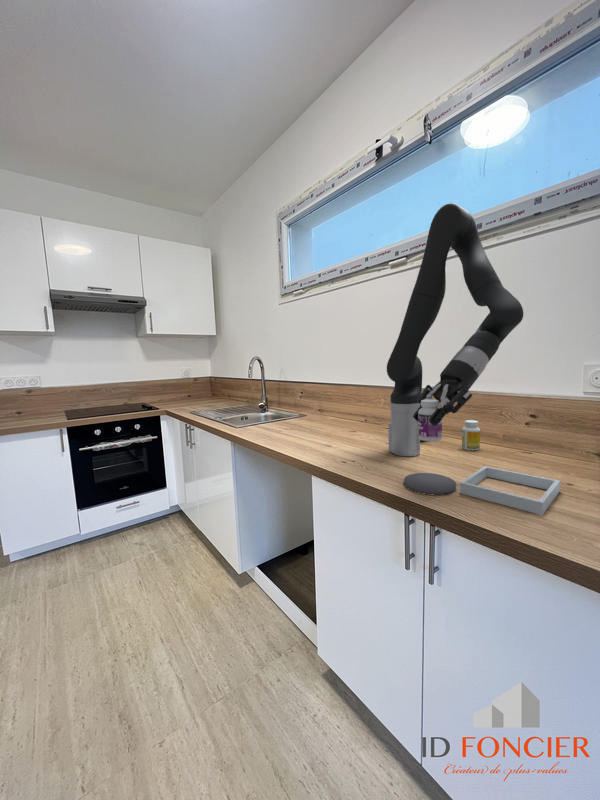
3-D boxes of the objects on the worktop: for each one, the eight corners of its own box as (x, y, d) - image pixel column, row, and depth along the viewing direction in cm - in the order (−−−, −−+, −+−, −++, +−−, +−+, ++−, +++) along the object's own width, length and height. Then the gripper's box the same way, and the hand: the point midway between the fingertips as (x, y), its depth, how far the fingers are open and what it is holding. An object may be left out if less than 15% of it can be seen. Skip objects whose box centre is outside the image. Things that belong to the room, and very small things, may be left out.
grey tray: (459, 492, 73) (459, 482, 73) (484, 475, 84) (484, 466, 83) (542, 515, 62) (542, 502, 61) (559, 491, 72) (560, 480, 72)
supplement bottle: (458, 448, 109) (458, 420, 108) (468, 445, 111) (469, 419, 110) (472, 451, 104) (473, 423, 103) (483, 449, 107) (483, 421, 105)
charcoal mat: (394, 485, 79) (394, 482, 79) (419, 473, 87) (419, 469, 87) (442, 499, 70) (442, 495, 70) (464, 484, 78) (464, 480, 78)
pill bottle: (414, 437, 80) (414, 399, 79) (435, 436, 80) (434, 398, 79) (425, 442, 75) (424, 402, 73) (446, 441, 75) (446, 400, 74)
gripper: (435, 359, 84) (396, 408, 82) (479, 357, 70) (434, 415, 68) (451, 378, 86) (414, 425, 84) (497, 379, 72) (454, 436, 71)
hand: (423, 421), depth 76 cm, fingers closed on pill bottle, 5 cm apart
